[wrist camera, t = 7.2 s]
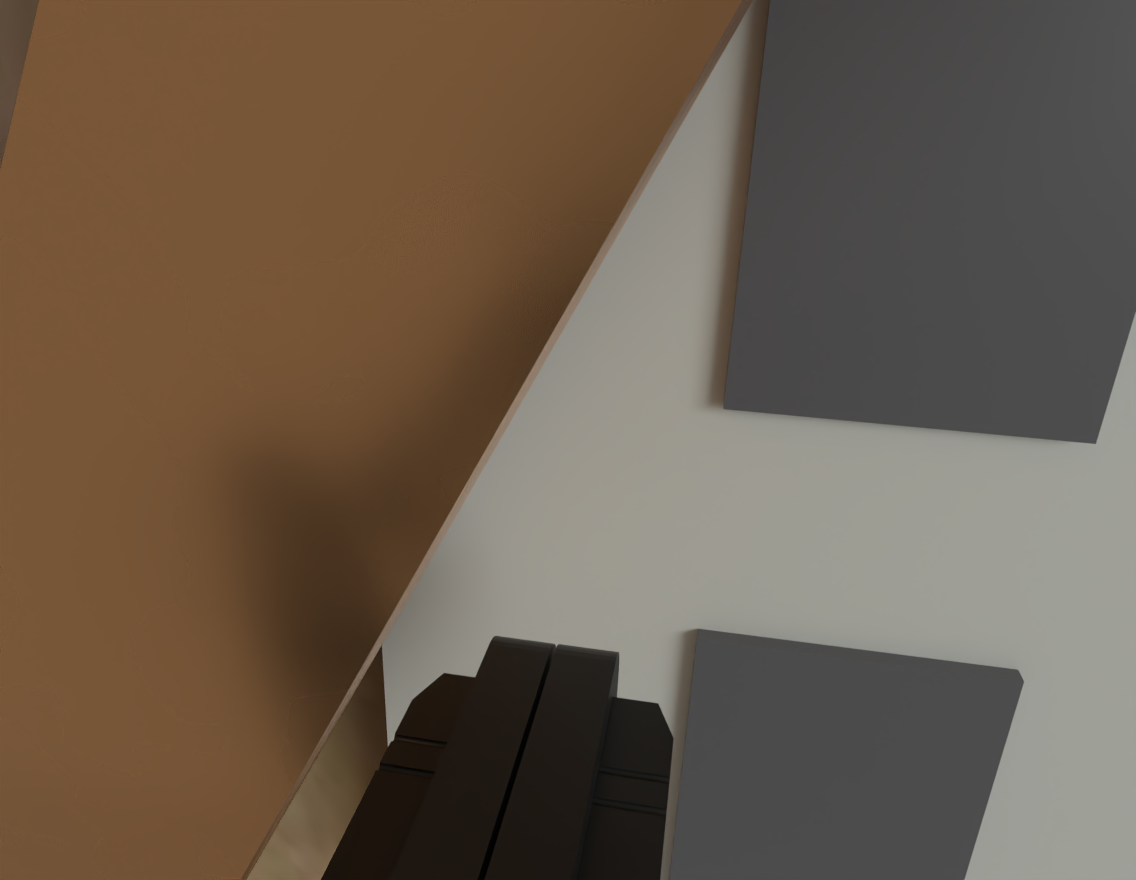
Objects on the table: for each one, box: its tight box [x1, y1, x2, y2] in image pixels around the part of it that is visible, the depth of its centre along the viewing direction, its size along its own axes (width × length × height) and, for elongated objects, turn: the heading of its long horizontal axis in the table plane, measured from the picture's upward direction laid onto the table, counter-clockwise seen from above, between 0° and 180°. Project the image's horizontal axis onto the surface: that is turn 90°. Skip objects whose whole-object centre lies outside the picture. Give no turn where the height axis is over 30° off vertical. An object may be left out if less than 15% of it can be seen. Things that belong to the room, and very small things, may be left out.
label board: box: [382, 0, 1136, 880], centre depth 12 cm, size 14×28×3 cm, turn 178°
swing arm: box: [0, 0, 753, 880], centre depth 8 cm, size 4×26×5 cm, turn 151°
